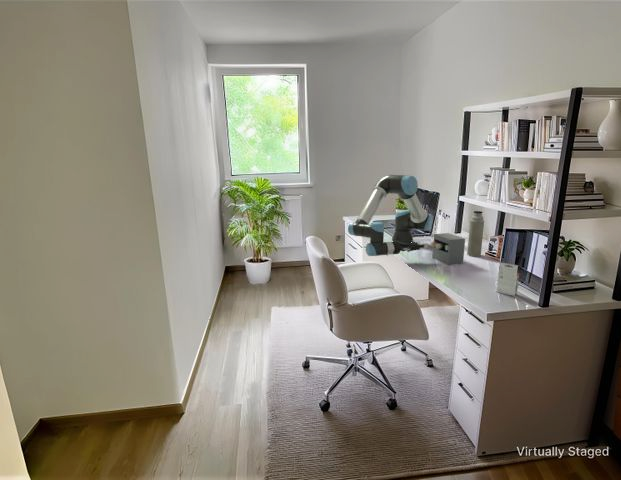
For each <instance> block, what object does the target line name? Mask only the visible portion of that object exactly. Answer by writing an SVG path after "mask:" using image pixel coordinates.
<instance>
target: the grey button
mask: <svg viewBox="0 0 621 480" xmlns="http://www.w3.org/2000/svg"><path fill="white" fill-rule="evenodd" d="M435 247H436V249H441V248H442V247H445V244H444V245H442V244H441V243H440V244H436V245H435Z"/></svg>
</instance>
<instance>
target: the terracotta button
mask: <svg viewBox="0 0 621 480" xmlns="http://www.w3.org/2000/svg"><path fill="white" fill-rule="evenodd" d="M436 244H440V243H437V242H434V241H431V242H430V246H431V248H433V247H435V245H436Z"/></svg>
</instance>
